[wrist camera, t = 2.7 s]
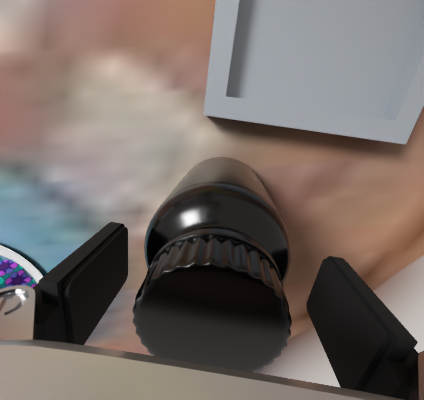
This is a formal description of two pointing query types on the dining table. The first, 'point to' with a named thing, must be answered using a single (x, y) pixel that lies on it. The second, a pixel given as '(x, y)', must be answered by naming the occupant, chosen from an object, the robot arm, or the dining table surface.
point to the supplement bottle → (216, 272)
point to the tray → (319, 65)
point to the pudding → (16, 270)
